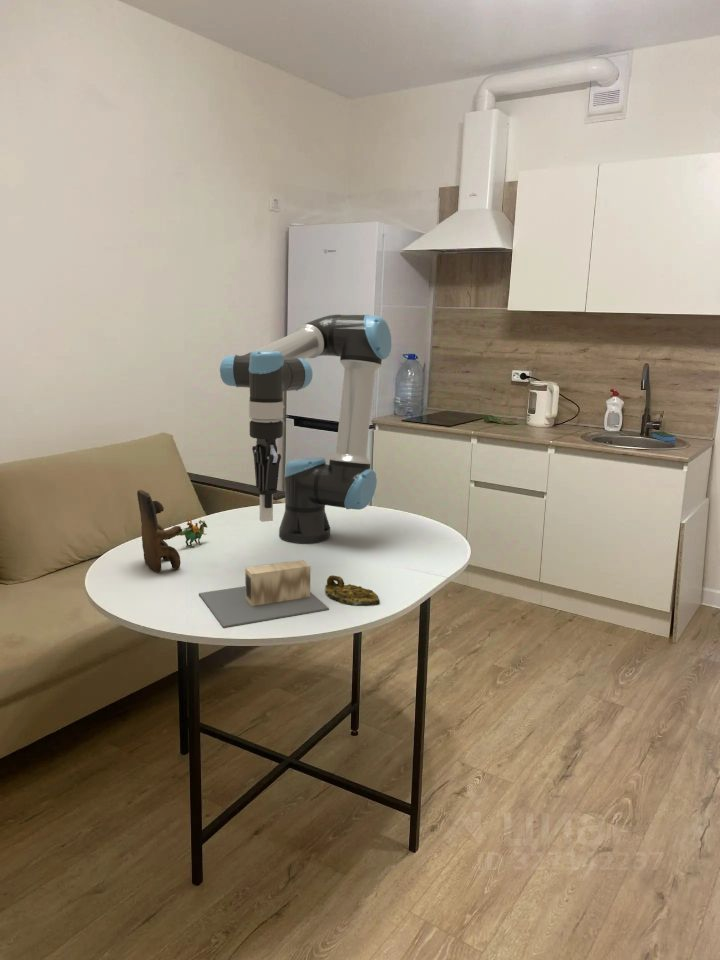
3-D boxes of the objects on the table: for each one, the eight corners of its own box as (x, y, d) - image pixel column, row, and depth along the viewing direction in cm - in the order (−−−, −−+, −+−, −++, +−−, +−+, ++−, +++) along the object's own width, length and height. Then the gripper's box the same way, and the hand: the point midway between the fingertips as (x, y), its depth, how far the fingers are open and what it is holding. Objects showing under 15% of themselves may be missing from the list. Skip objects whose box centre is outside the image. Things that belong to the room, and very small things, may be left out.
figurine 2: (211, 542, 207) (210, 514, 205) (177, 552, 197) (176, 524, 195) (203, 540, 208) (203, 513, 207) (170, 550, 199) (169, 521, 197)
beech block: (245, 599, 165) (302, 590, 172) (251, 606, 162) (310, 596, 168) (245, 567, 164) (302, 559, 170) (251, 574, 160) (310, 565, 166)
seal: (389, 603, 170) (334, 589, 177) (391, 583, 169) (336, 570, 177) (369, 611, 162) (313, 596, 169) (371, 591, 161) (315, 577, 168)
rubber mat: (295, 580, 179) (295, 578, 179) (328, 609, 162) (328, 608, 161) (198, 594, 168) (198, 593, 168) (223, 628, 151) (223, 626, 151)
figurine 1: (188, 569, 184) (180, 492, 179) (159, 577, 180) (150, 498, 175) (167, 556, 194) (158, 482, 189) (139, 563, 190) (130, 488, 185)
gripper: (292, 423, 161) (291, 526, 166) (272, 415, 172) (271, 512, 177) (259, 424, 157) (260, 529, 162) (241, 416, 169) (242, 515, 174)
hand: (266, 520), depth 170 cm, fingers closed
